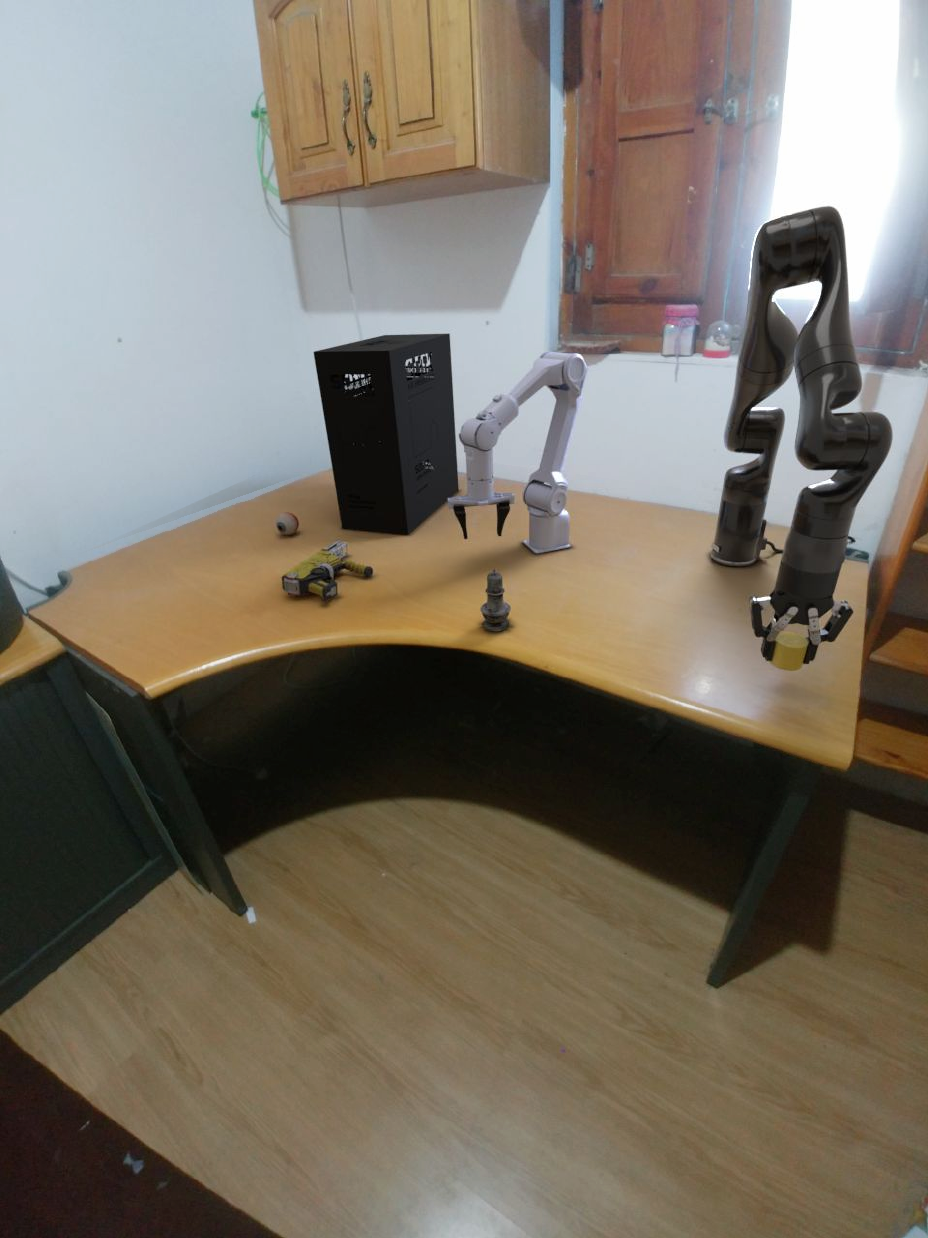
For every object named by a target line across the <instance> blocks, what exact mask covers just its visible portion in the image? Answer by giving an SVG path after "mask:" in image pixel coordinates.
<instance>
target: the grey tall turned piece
mask: <svg viewBox="0 0 928 1238" xmlns="http://www.w3.org/2000/svg"><path fill="white" fill-rule="evenodd" d="M505 590H506V589H505V588H503V574H501V573H500V572H498V571H497V569H496V568H493V569H492V572H490V573H488V574H487V576H486V589H485V590H484V591H485V593H486V598H487V601H486V602H485V603H483V604H482V605H481V606H480V609H479V610H480V612H481V615H482V616H483V619H484V620H483V621H482V627H483V628H484V629H485V630H486V631H491V632H501V631H504V630H506V629H508V628H509V627H510V621H509V620H508V619H507V618H508V617H509V615H510V612H511V610H512V607H511V605H510V604H509V603H508V602H505V601H504V593H505V592H506V591H505Z"/></svg>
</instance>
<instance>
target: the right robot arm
mask: <svg viewBox="0 0 928 1238" xmlns="http://www.w3.org/2000/svg"><path fill="white" fill-rule="evenodd" d="M814 282H818V286H819V287H818V295H817V298H816V301H815V303H814V305H813V308H812V310H811V311H810V313H809V315H808V317H807V319H806V321H805V322H804V324H803V326H802V328H801V330H800V332H798V329H797V327H796V326H795V324H794V322H792V320H791V319H790V317H789V316H788V315H787V314H786V313H785V312H784V311H783V309H782V308H781V307H780V305H779V304H778V303H777V301H776V298H775V294H776V293H777V292H778V291H781V290H785V289H789V288H793V287H798V286H802V285H805V284H806V285H807V284H810V283H814ZM849 291H850V290H849V273H848V259H847V244H846V234H845V227H844V223H843V219H842V216H841V213H840V212H839V210H838V209H837V208H836V207H834V206H831V205H825V206H817V207H814V208H810V209H806V210H801V211H798V212H794V213H790V214H785V215H783V216H777V217H775V218H772V219H770V220H767V221H765V222H764V223H762V224H761V225H760V227H759V228H758V230H757V232H756V234H755V237H754V241H753V244H752V249H751V261H750V271H749V284H748V295H747V307H746V314H745V319H744V326H743V331H742V337H741V340H740V346H739V350H738V357H737V362H736V368H735V369H736V370H735V378H734V388H733V394H732V398H731V403H730V406H729V410H728V413H727V417H726V422H725V426H724V433H723V445H724V448H725V449H726V450H727V451H728V452H731V453H734V454H745V455H758V456H757V458H755V459H753V460H751V461H749V462H747V463H743V464H740V465H736V466H733V467H731V468H729V469H726V472H725V473H724V477H723V484H722V490H721V496H720V500H719V501H720V502H719V507H718V514H717V519H716V524H715V531H714V537H713V542H711V545H710V546H711V552H710V558H711V559H712V560H713V561H714V562H716V563H718V564H721V565H724V566H729V567H746V566H751V565H753V564H754V563H755V562H757V561H760V556H761V553H762V552H761V551H765V550H766V547H767V545H769V546H770V547H771V549H772V551H773V552H776V553H780V554H782V555H781V559H780V563H779V566H778V571H777V576H776V580H775V585H774V588H773V590H772V591H771V592H770V594H769V595H768V596H762V597H758V596H757V595H751V596H750V597H749V598H748V603H749V611H750V612H749V613H750V621H751V628H752V630H753V634H754V636H755V637H756V638H762V642H761V645H760V653H761V656H762V658H764V660H765V662H769V661H771V660H772V656H773V652H774V648H775V644H776V641H775V639H776V637H777V636H778V634H779V633H780V632H784V630H785V629H786V628H787V626H788V625H796V624H798V625H802V626H806V631H807V635H808V636H805V638H806V639H807V640H808V647H807V650H806V654H805V658H804V661H803V665H809V664H810V662H813V661H814V660H815V659H816V655H817V652H818V649H819V646H820V644H821V643H824V642H827V643H833V642H835V641H836V639H837V638H838V636H839V635H840V633H841V632H842V630H843V629H844V628H845V626H846V624H847V623H848V622H849V620H850V618H851V617H852V615H853V614H854V610H853V608H852V606H851V605H850V603H849V601H847V600H841V601H838V600H834V594H835V590H836V586H837V584H838V580H839V577H840V573H841V570H842V566H843V564H844V562H845V559H846V552H847V548H848V540H849V541H850V542H856V539H855V538H854V537H853V536H851V535H849V534H850V531H851V527H852V524H853V520H854V518H855V517H854V516H855V513H856V510H857V508H858V507H857V506H858V505H859V503H860V501H861V500H862V498H863V496H864V495H865V493H866V491H867V490H868V488H869V487H870V485H871V483H872V482H873V480H874V479H875V477H876V476H877V474H878V473H879V472H880V469H881V468H882V466H883V464H884V463H885V461H886V460H887V457H888V455H889V453H890V450H891V448H892V445H893V437H894V434H893V433H894V432H893V427H892V424H891V422H890V419H889V418H888V417H887V416H886V415H885V414H883V413H881V412H878V411H853V412H851V411H850V412H832V411H836V410H838V409H841V408H843V407H846V406H847V405H849V404H851V403H852V402H853V401H855V400H856V398H858V396H859V395H860V393H861V392H862V388H863V377H862V372H861V368H860V364H859V360H858V356H857V351H856V347H855V343H854V339H853V333H852V326H851V318H850V315H851V314H850V293H849ZM793 370H794V373H795V379H796V383H797V389H798V393H799V409H798V419H797V420H798V421H797V428H796V433H795V439H794V440H795V441H794V455H795V457H796V459H797V461H798V462H799V464H800V465H801V466H802V467H803V468H804V469H807V470H809V471H814V472H815V471H816V472H821V471H822V472H824V471H835V472H834V474H832V476H831V477H829V478H827V479H825V480H823V481H820V482H816V483H812V484H809V485H806V486H805V487H803V488H802V489H801V490H800V492H799V493H798V496H797V499H796V503H795V507H794V512H793V515H792V520H791V525H790V527H789V530H788V533H787V536H786V539H785V542H784V546H783V549H779V548H777V547H776V546H775V544H774V543H773V542H771V541H769V540H768V538H767V537H765V533H766V528H767V522H768V521H767V519H765V513H766V508H767V505H768V504H767V503H768V499H769V494H770V489H771V484H772V478H773V473H774V469H775V463H776V460H777V455H778V452H779V448H780V445H781V441H782V437H783V434H784V429H785V423H786V413H785V411H784V409H783V408H780V407H774V406H757V405H758V404H759V405H760V404H761V402H763V401H764V400H766V399H768V398H769V397H770V396H772V395H773V394H774V393H775V392H777V391H778V390H779V389H780V388H782V386H783V385H784V384H785V383H786V382H787V381H788V380H789V378H790V376H791V375H792V373H793ZM768 606H771V608H772V609H773V612H772V614H771V616H770V618H769V621H768V622H767V624H766V626H765V625H763V616H762V614H764V613H765V612H766V611H767V607H768ZM829 611H830V613H831V615H830V616H829V619H827V621H826V623H825V625H824V626H823V628H822V629H821V627H820V621H819V619H821V618H822V617H823V616H824V615H826V614H827V613H828V612H829Z"/></svg>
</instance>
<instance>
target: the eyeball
mask: <svg viewBox="0 0 928 1238" xmlns="http://www.w3.org/2000/svg"><path fill="white" fill-rule="evenodd" d="M299 525H300V522H299V519H298V517H297V516H296V515H295V514H294V513H292V512H287V511H286V512H282V513H280V514H279V515H278V516H277V517H276V520H275V527H276V529H277V530H278V531H279V532H280V533H281V534H282V535H285V536H286V535H287V536H289V535H293V534H295V533H296V532H297V531H298V529H299Z"/></svg>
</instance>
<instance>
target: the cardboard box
mask: <svg viewBox="0 0 928 1238" xmlns="http://www.w3.org/2000/svg"><path fill="white" fill-rule="evenodd" d="M426 355H427V356H426ZM313 357H314V358H313V359H314V365H315V370H316V376H317V382H318V389H319V394H320V402H321V406H322V413H323V419H324V427H325V433H326V438H327V444H328V451H329V456H330V457H329V458H330V463H331V469H332V476H333V483H334V487H335V493H336V494H335V495H336V499H337V505H338V512H339V517H340V519H339V520H340V523H341V524H340V525H341V529H346V530H347V529H348V530H358V531H369V532H376V533H377V532H379V533H388V534H398V535H410V534H411V533H412V532H413V531H414V530H415V529H416V528H418V526H420V525H421V524H422V523H424V521H425V520H427V519H428V518H429V517H430V516H431V515H432V514H434V513H435V512H436V511H437V510H438V509H440V507H441V506H442V505H444V504H445V503H446V502H448V498H453V496H454V495H455V494H456V493H458V491H459V490H460V489H459V488H460V487H459V471H458V455H457V454H458V453H457V438H456V437H457V436H456V421H455V418H456V417H455V404H454V403H455V401H454V384H453V383H454V382H453V369H452V367H453V366H452V349H451V334H450V333H415V334H414V333H411V334H383V335H379V336H375V337H371V338H367V339H361V340H357V341H354V342H349V343H345V344H341V345H337V346H332V347H327V348H323V349H319V350H315V351H313ZM416 357H417V360H416ZM407 361H408V362H407ZM428 361H429V364H428ZM406 364H407V365H406ZM423 364H424V365H423ZM427 364H428V365H427ZM355 375H356V376H357V378H356V377H355ZM346 376H347V377H346ZM362 376H363V377H362ZM351 379H352V380H351Z"/></svg>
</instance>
